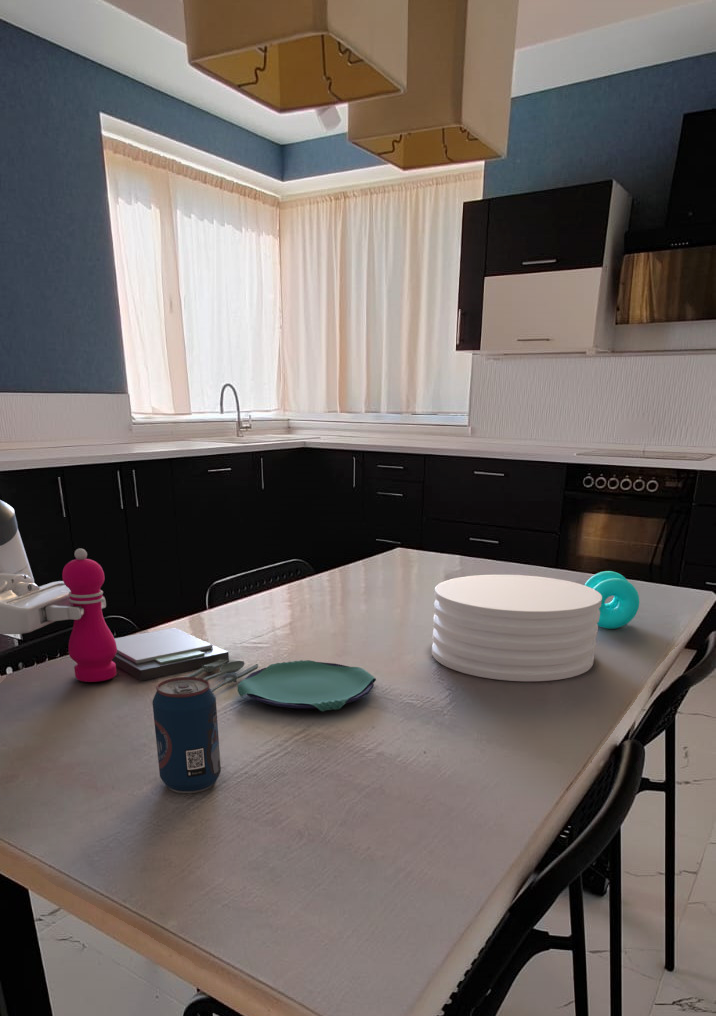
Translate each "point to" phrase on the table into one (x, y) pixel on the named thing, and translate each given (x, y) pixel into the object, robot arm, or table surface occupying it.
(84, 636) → the pepper mill
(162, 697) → the soda can
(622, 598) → the donuts
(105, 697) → the table surface
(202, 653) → the kitchen scale
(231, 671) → the cutlery set
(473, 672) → the plate stack
